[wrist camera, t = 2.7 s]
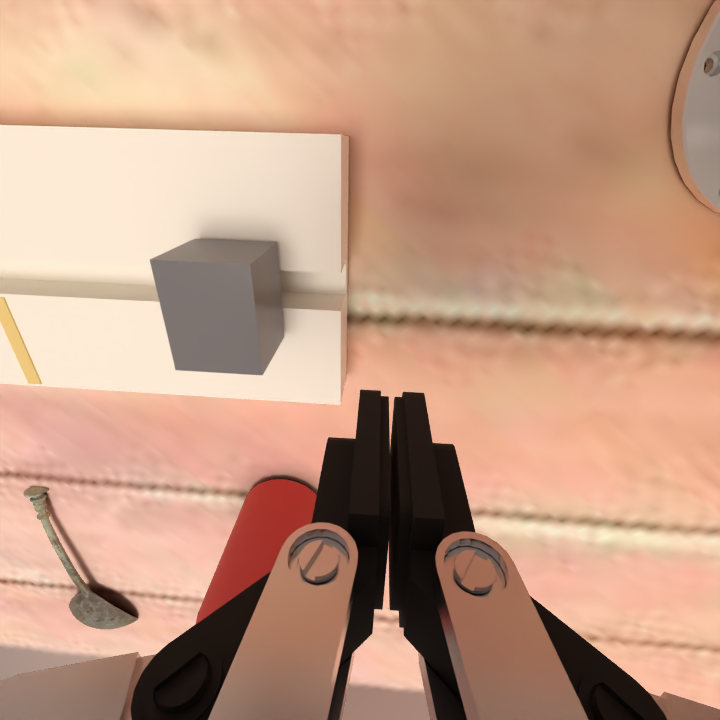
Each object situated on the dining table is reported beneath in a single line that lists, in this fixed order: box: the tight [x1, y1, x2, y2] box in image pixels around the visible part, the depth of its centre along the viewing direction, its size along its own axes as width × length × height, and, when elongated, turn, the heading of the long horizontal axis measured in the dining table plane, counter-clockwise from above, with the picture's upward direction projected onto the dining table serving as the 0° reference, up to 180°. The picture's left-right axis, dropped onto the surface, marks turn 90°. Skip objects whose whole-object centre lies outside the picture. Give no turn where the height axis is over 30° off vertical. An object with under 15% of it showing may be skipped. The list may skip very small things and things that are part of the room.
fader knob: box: [150, 239, 284, 375], centre depth 19 cm, size 4×5×6 cm
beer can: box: [196, 479, 317, 624], centre depth 28 cm, size 7×7×12 cm
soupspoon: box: [24, 487, 138, 629], centre depth 39 cm, size 22×3×7 cm
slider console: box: [0, 125, 349, 405], centre depth 22 cm, size 26×14×4 cm, turn 88°
